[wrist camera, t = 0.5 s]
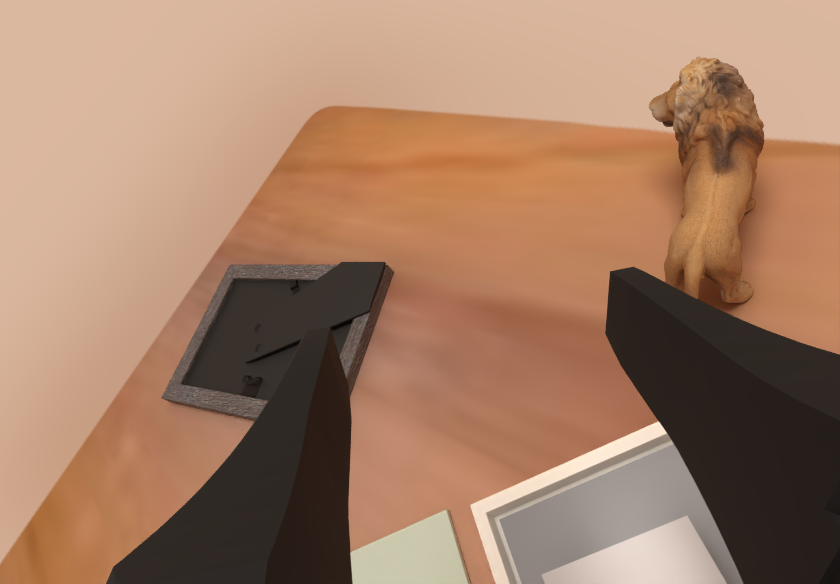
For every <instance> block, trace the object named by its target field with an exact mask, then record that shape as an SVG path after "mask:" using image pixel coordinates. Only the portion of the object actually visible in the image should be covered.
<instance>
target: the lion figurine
mask: <svg viewBox="0 0 840 584" xmlns="http://www.w3.org/2000/svg"><path fill="white" fill-rule="evenodd" d="M679 78H680V80H679V81H677V82H675V83H674V84H673V85H672V86H671V88H670V90H669V91H668V92H665V93H664V94H662V95H660V96H657V97H655V98H654V99H653V100H652V101H651V102H650V104H649V108H650V110H651V111H652V115H653V117H654V118H655V119H656V120H658V121H659V122H663V124H664V126H666V127H672V126H673V129H674V131H675V137H676V140H677V141H679V150H678V152H679V159H680V162H681V164H682V166H683V169H682V177H683V194H684V197H683V200H684V209H683V210H682V211H681V216H682V217H683V219H682V220H681V221H680V223H679V224H678V225H677V227H676V228H675V230H674V231H673V233H672V234H671V238H670V242H669V249H668V255H667V258H666V261H665V264H664V270H665V275H666V283H667V284H669V285H671V286H673V287H675V288H677V289H679V290H680V291H682V292H683V290H684V287H685V293H686V294H688V295H690V296H692V297H694V298H696V299H698V295H699V286H700V280H702V279H703V278H704V277H705V276H707V277H708V278H710V279H711V280H713V281H715V282H716V283H717V284H719V285H720V286H721V287H722V290H721V296H722V300H723V301H724V302H727V303H732V302H735V303H741V302H745V301H747V300H748V299H749V298H750V297H751V296H752V294H753V288H752V287H751V285H750V284H749V283H747V282H744V281H739V279H740V275H741V272H742V261H741V249H742V247H741V242H740V239H739V237H738V226H739V224H740V222H741V221H742V219H743V217H744V214H745V213H746V212H748V211H750V210H751V209H753V207H754V205H755V201H754V200H753V199H752V198H750V196H751V194H752V191H753V186H754V183H755V180H756V168H757V159H758V156H759V155H760V153H761V151H762V148H763V145H764V132H763V130H762V128H763V126H764V125H763V122H762V121H761V120H760V119H759V116H758V114H757V110H756V106H755V103H754V95H753V93H752V92H751V90H750V89H748V87H747V85H746V84H745V83H744V80H743V78H742V76H740V75H739V72H738V70H737V69H736V68H735V67H733V66H731V65H729V64H726V63H723V62H720V61H719V60H718V59H715V58H713V59H707V58H701V57H697V58H696V59H695V60H692V61H691V63H690V64H689V65H687V66H686V67H685V68H683V69H682V70H681V71H680V76H679Z"/></svg>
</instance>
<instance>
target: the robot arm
mask: <svg viewBox="0 0 840 584" xmlns="http://www.w3.org/2000/svg"><path fill="white" fill-rule="evenodd" d="M605 334H606V336H607V338H608V340H609V342H610V344H611V346H612V348H613V351H614V353H615V355H616V357H617V358H618V360H619V362H620V364H621V366H622V368H623V369H624V371H625V372H626V374H627V375H628V377H629V378H630V380H631V381H632V383H633V384H634V386H635V387H636V389H637V390H638V392H639V393H640V395H641V396H642V398H643V399H644V400H645V402H646V403H647V405H648V406H649V408H650V409H651V411H652V412H653V414H654V415H655V416H656V418H657V419H658V421H659V422H660V424H661V425H662V427H663V428H664V430H665V431H666V433H667V434H668V435H669V437H670V439H671V440H672V442H673V444H674V445H675V447H676V448H677V450H678V452H679V454H680V455H681V457H682V459H683V461H684V463H685V465H686V467H687V468H688V470H689V472H690V474H691V476H692V478H693V480H694V481H695V483H696V485H697V487H698V489H699V491H700V493H701V495H702V497H703V499H704V501H705V503H706V505H707V507H708V509H709V511H710V513H711V515H712V517H713V519H714V521H715V523H716V525H717V527H718V529H719V531H720V534H721V536H722V538H723V540H724V542H725V544H726V546H727V548H728V551H729V553H730V555H731V557H732V559H733V561H734V563H735V566H736V568H737V570H738V572H739V575H740V577H741V579H742V582H743V584H840V355H839V354H836V353H832V352H829V351H825V350H822V349H819V348H815V347H812V346H809V345H806V344H803V343H800V342H797V341H794V340H792V339H789V338H786V337H783V336H781V335H778V334H775V333H772V332H770V331H767V330H765V329H762V328H760V327H757V326H755V325H752V324H750V323H748V322H745V321H743V320H741V319H738V318H736V317H734V316H732V315H729V314H727V313H725V312H723V311H721V310H719V309H716V308H714V307H712V306H710V305H708V304H706V303H704V302H702V301H700V300H698V299H696V298H694V297H692V296H690V295H688V294H686V293H684V292H682V291H680V290H679V289H677V288H675V287H673V286H671V285H669V284H667V283H665V282H663V281H661V280H659V279H657V278H656V277H654V276H652V275H650V274H648V273H646V272H644V271H642V270H639V269H637V268H635V267H630V268H625V269H620V270H615V271H610V280H609V293H608V307H607V320H606V333H605ZM350 448H351V408H350V396H349V385H348V382H347V378H346V375H345V372H344V369H343V366H342V363H341V359H340V356H339V353H338V350H337V347H336V344H335V340H334V337H333V334H332V331H331V328H330V327H325V328H320V329H315V330H310V331H306V332H305V333H304V335H303V337H302V339H301V341H300V343H299V345H298V347H297V349H296V351H295V353H294V355H293V357H292V359H291V361H290V363H289V365H288V367H287V369H286V371H285V372H284V374H283V376H282V378H281V380H280V381H279V383H278V385H277V387H276V389H275V390H274V392H273V394H272V395H271V397H270V399H269V400H268V402H267V403H266V405H265V407H264V408H263V410H262V411H261V413H260V414H259V416H258V418H257V419H256V421H255V422H254V424H253V425H252V426H251V428H250V429H249V431H248V432H247V434H246V435H245V436H244V438H243V439H242V440H241V442H240V443H239V444H238V446H237V447H236V448H235V449H234V451H233V452H232V453H231V455H230V456H229V457H228V458H227V459H226V461H225V462H224V463H223V464H222V465H221V466H220V467H219V469H218V470H217V471H216V472H215V473H214V474H213V475H212V476H211V478H210V479H209V480H208V481H207V482H206V483H205V484H204V485H203V486H202V488H201V489H200V490H199V491H198V492H197V493H196V494H195V495H194V496H193V497H192V498H191V499H190V500H189V501H188V502H187V503H186V504H185V505H184V506H183V507H182V508H181V509H180V510H179V511H177V512H176V513H175V514H174V515H173V516H172V517H171V518H170V519H169V520H168V521H167V522H166V523H165V524H164V525H162V526H161V527H160V528H159V529H158V530H157V531H156V532H155V533H153V534H152V535H151V536H150V537H149V538H147V539H146V540H145V541H144V542H143V543H142V544H140V545H139V546H138V547H137V548H136V549H134V550H133V551H132V552H131V553H130V554H129V555H127V556H126V557H125V558H124V559H123V560H121V561H120V562H119V563H118V564H116V565H115V566H114V567H113V569H112V571H111V574H110V576H109V578H108V580H107V583H106V584H353V582H352V568H351V554H350V537H349V520H348V496H349V472H350Z"/></svg>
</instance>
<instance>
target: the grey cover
mask: <svg viewBox="0 0 840 584" xmlns="http://www.w3.org/2000/svg"><path fill="white" fill-rule="evenodd" d="M499 521H500V524H501V527H502V529H503V532H504V535H505V538H506V541H507V544H508V546H509V549H510V552H511V555H512V558H513V560H514V563H515V566H516V569H517V572H518V575H519V577H520V580H521V583H522V584H743V582H742V579H741V577H740V575H739V572H738V570H737V568H736V566H735V563H734V561H733V559H732V557H731V555H730V553H729V551H728V548H727V546H726V544H725V542H724V540H723V538H722V536H721V534H720V531H719V529H718V527H717V525H716V523H715V521H714V519H713V517H712V515H711V513H710V511H709V509H708V507H707V505H706V503H705V501H704V499H703V497H702V495H701V493H700V491H699V489H698V487H697V485H696V483H695V481H694V480H693V478H692V476H691V474H690V472H689V470H688V468H687V467H686V465H685V463H684V461H683V459H682V457H681V455H680V454H679V452H678V450H677V448H676V447H675V445H674V444H672V445H670V446H668V447H665V448H663V449H661V450H658V451H656V452H654V453H651V454H649V455H647V456H644V457H642V458H640V459H638V460H635V461H633V462H631V463H628V464H626V465H624V466H621V467H619V468H617V469H614V470H612V471H610V472H608V473H605V474H603V475H601V476H598V477H596V478H594V479H591V480H589V481H587V482H585V483H582V484H580V485H578V486H575V487H573V488H571V489H568V490H566V491H564V492H561V493H559V494H557V495H555V496H552V497H550V498H548V499H545V500H543V501H541V502H538V503H536V504H534V505H532V506H529V507H527V508H525V509H522V510H520V511H518V512H515V513H513V514H511V515H508V516H506V517H504V518H502V519H499Z"/></svg>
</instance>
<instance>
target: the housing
mask: <svg viewBox="0 0 840 584" xmlns="http://www.w3.org/2000/svg"><path fill="white" fill-rule="evenodd" d="M672 444H673V442H672V440H671V439H670V437H669V435H668V434H667V433H666V431H665V430H664V428H663V427H662V425H661V424H660V422H659V421H658V422H656V423H654V424H652V425H649V426H647V427H645V428H643V429H640V430H638V431H636V432H634V433H631V434H629V435H627V436H625V437H622V438H620V439H618V440H616V441H613V442H611V443H609V444H607V445H604V446H602V447H600V448H598V449H595V450H593V451H591V452H589V453H586V454H584V455H582V456H580V457H577V458H575V459H573V460H571V461H568V462H566V463H564V464H562V465H559V466H557V467H555V468H553V469H550V470H548V471H546V472H544V473H541V474H539V475H537V476H535V477H532V478H530V479H528V480H526V481H523V482H521V483H519V484H517V485H514V486H512V487H510V488H508V489H505V490H503V491H501V492H499V493H496V494H494V495H492V496H490V497H487V498H485V499H483V500H481V501H478V502H476V503H474V504H472V505H470V506H471V509H472V512H473V515H474V518H475V522H476V525H477V528H478V531H479V534H480V537H481V540H482V543H483V546H484V549H485V552H486V555H487V559H488V562H489V565H490V568H491V571H492V574H493V577H494V580H495V583H496V584H522V583H521V580H520V577H519V575H518V572H517V569H516V566H515V563H514V560H513V558H512V555H511V552H510V549H509V546H508V544H507V541H506V538H505V535H504V532H503V529H502V527H501V524H500V521H499V519H502V518H504V517H506V516H508V515H511V514H513V513H515V512H518V511H520V510H522V509H525V508H527V507H529V506H532V505H534V504H536V503H538V502H541V501H543V500H545V499H548V498H550V497H552V496H555V495H557V494H559V493H561V492H564V491H566V490H568V489H571V488H573V487H575V486H578V485H580V484H582V483H585V482H587V481H589V480H591V479H594V478H596V477H598V476H601V475H603V474H605V473H608V472H610V471H612V470H614V469H617V468H619V467H621V466H624V465H626V464H628V463H631V462H633V461H635V460H638V459H640V458H642V457H644V456H647V455H649V454H651V453H654V452H656V451H658V450H661V449H663V448H665V447H668V446H670V445H672Z"/></svg>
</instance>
